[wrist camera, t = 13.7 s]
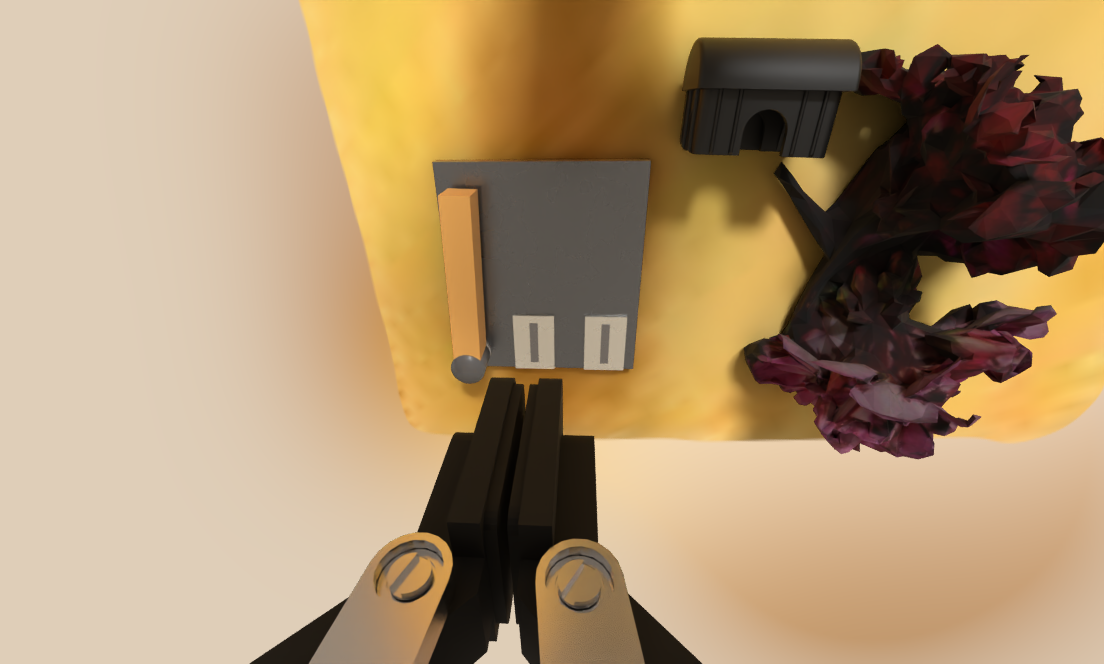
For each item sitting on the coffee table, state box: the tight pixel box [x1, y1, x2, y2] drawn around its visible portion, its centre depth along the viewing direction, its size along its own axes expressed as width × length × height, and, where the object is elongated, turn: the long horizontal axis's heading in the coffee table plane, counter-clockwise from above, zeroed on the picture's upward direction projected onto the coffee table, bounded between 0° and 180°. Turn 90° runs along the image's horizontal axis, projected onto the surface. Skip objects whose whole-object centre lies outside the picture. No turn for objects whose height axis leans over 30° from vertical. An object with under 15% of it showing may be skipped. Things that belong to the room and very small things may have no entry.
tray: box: [432, 159, 651, 370], centre depth 42 cm, size 20×18×2 cm
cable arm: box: [438, 188, 490, 384], centre depth 40 cm, size 18×3×3 cm, turn 179°
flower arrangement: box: [744, 44, 1104, 459], centre depth 33 cm, size 31×20×15 cm, turn 1°
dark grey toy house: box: [680, 38, 862, 158], centre depth 32 cm, size 10×7×7 cm
